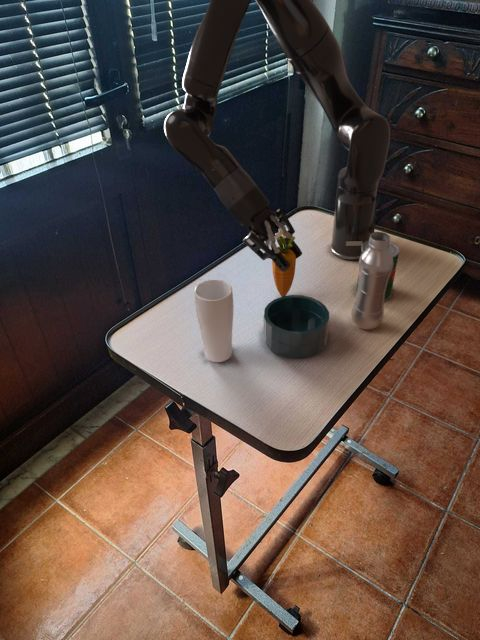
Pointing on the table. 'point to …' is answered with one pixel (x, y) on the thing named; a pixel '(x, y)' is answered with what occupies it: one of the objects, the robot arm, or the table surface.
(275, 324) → the pot
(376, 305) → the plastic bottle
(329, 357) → the table surface
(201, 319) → the drinking glass
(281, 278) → the carrot
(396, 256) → the canned tomato
